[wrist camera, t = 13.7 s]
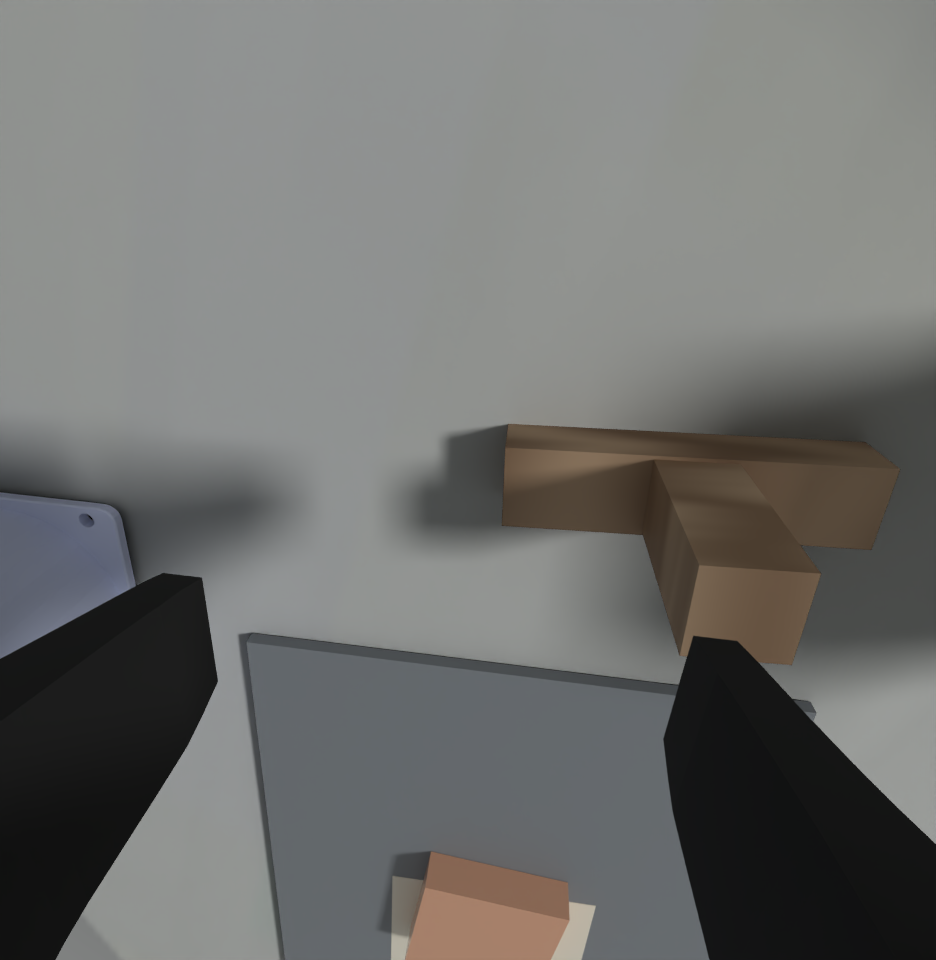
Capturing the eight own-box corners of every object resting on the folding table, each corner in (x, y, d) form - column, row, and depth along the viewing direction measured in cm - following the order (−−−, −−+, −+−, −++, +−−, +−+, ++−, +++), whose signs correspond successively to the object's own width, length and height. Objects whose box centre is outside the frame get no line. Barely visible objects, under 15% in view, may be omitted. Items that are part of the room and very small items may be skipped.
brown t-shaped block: (505, 494, 19) (488, 643, 13) (508, 422, 18) (492, 546, 12) (839, 514, 18) (997, 685, 12) (862, 440, 17) (1050, 584, 11)
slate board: (290, 960, 32) (286, 972, 32) (252, 633, 22) (246, 642, 22) (674, 1021, 31) (676, 1034, 30) (810, 701, 21) (816, 713, 21)
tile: (410, 928, 29) (403, 964, 27) (431, 851, 26) (425, 887, 25) (534, 956, 29) (534, 994, 27) (568, 882, 26) (569, 920, 25)
